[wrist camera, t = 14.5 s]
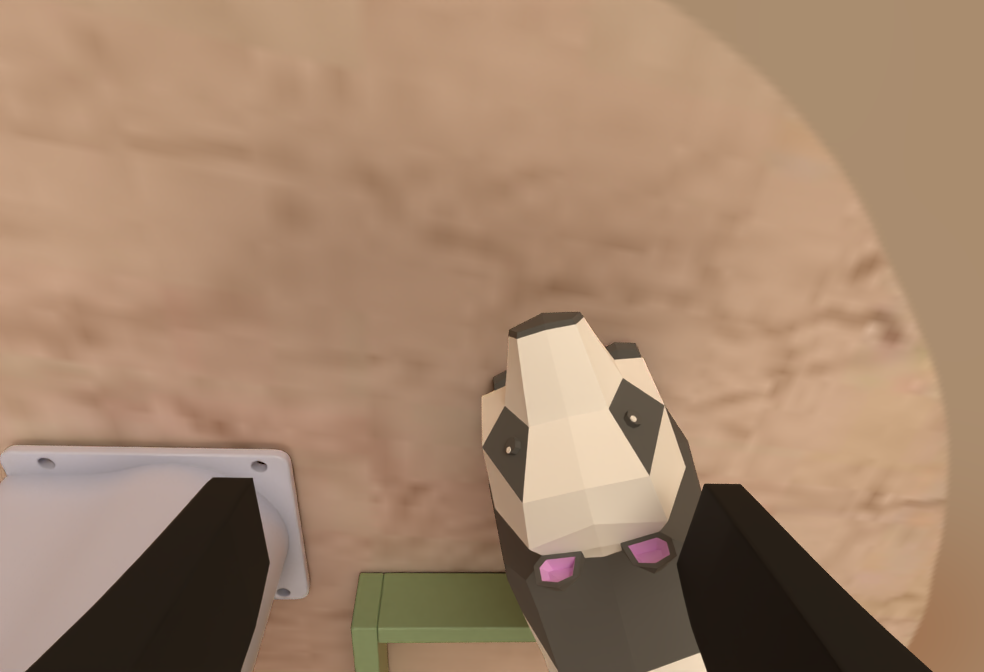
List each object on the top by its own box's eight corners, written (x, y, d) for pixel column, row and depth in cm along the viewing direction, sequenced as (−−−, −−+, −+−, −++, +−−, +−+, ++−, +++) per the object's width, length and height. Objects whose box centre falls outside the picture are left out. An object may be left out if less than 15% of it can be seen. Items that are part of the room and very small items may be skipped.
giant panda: (682, 534, 24) (788, 825, 16) (546, 562, 25) (578, 854, 16) (619, 181, 17) (752, 371, 9) (430, 233, 18) (383, 456, 9)
